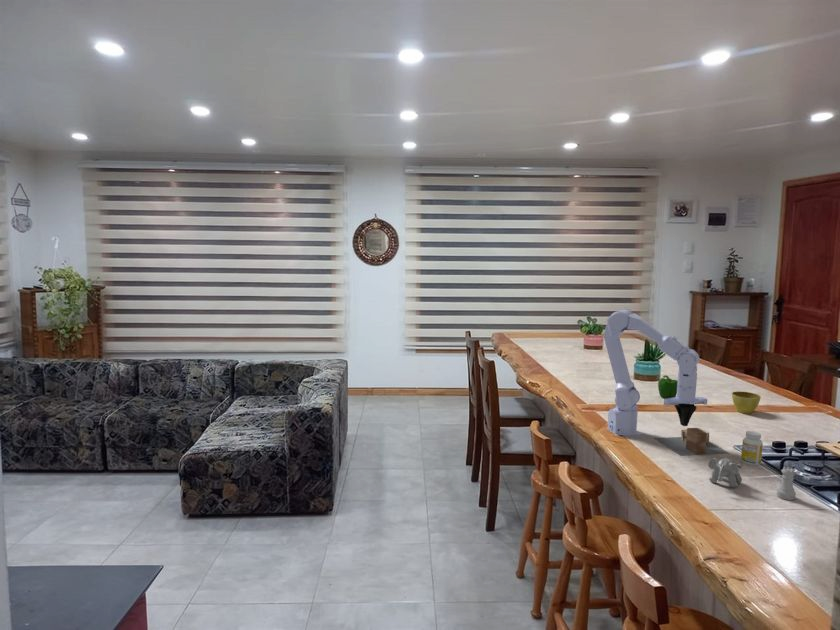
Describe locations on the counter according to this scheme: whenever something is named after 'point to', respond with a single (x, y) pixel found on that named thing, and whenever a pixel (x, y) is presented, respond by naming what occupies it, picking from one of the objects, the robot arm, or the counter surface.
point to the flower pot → (745, 401)
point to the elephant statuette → (725, 471)
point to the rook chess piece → (787, 485)
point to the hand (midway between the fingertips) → (683, 425)
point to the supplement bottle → (752, 448)
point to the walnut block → (696, 440)
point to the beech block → (684, 435)
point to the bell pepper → (667, 387)
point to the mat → (680, 446)
